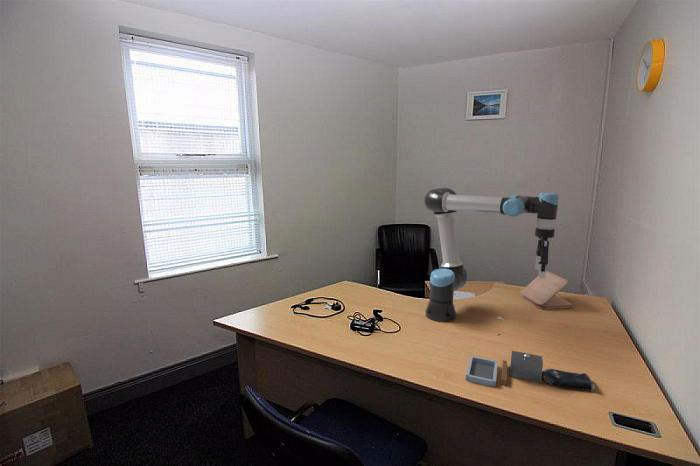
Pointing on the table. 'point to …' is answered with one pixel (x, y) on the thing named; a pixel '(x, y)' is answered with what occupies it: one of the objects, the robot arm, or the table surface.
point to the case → (546, 292)
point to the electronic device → (568, 379)
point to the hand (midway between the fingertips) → (539, 273)
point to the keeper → (482, 371)
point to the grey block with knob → (526, 366)
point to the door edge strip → (504, 372)
